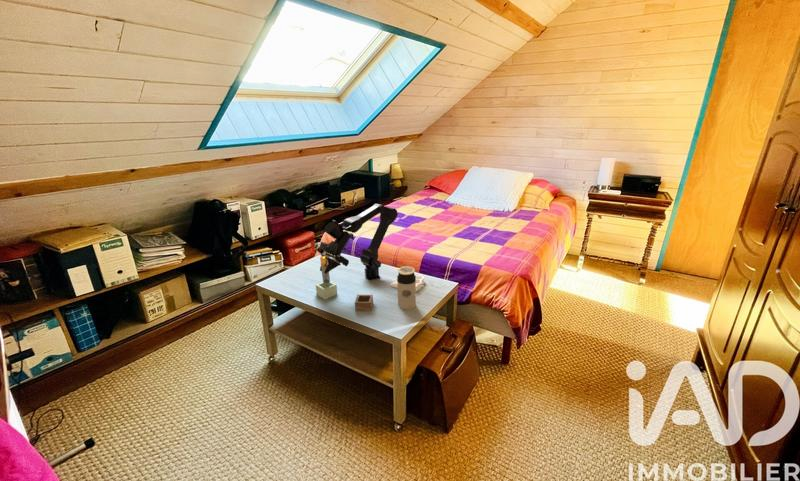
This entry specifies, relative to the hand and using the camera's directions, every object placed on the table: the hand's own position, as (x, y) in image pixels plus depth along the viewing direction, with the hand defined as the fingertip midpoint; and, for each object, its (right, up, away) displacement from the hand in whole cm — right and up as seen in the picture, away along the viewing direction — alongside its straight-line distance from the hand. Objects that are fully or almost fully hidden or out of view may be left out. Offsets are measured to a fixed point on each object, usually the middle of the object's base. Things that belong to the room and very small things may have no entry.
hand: (322, 272), depth 166 cm
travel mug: (+39, -15, -3) cm, 41 cm away
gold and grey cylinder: (+1, -5, +3) cm, 6 cm away
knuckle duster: (+40, -9, +13) cm, 43 cm away
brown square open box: (+20, -16, -5) cm, 26 cm away
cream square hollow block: (+1, -12, +6) cm, 14 cm away
